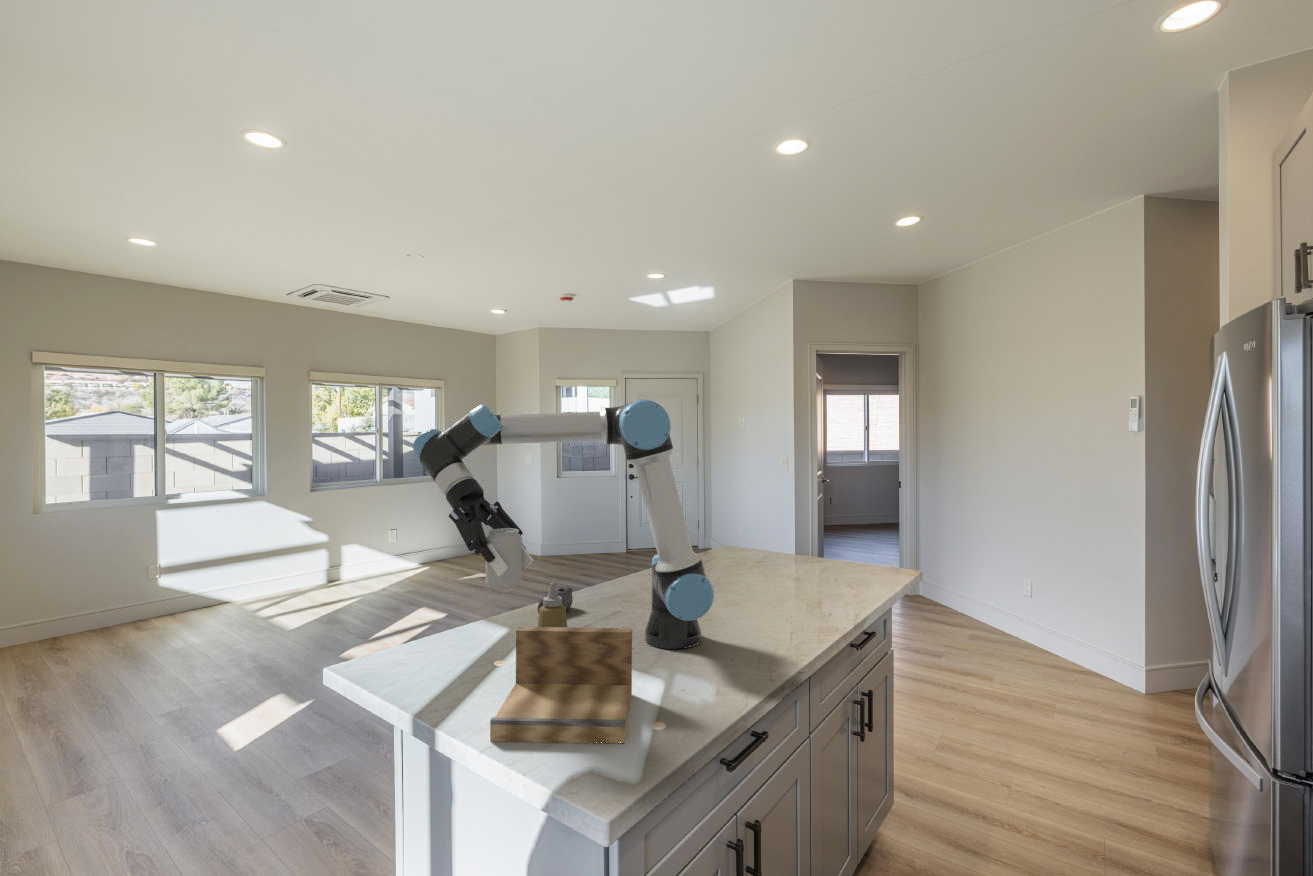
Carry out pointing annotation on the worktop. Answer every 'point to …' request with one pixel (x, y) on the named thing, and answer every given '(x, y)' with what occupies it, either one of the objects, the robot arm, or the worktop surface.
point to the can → (505, 558)
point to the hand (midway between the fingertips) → (516, 568)
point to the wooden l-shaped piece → (568, 687)
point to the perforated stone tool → (566, 597)
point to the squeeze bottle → (552, 610)
